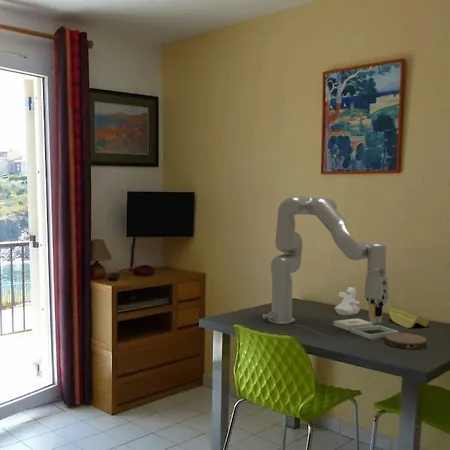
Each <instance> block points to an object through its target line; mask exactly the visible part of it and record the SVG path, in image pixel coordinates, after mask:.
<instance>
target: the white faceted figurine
mask: <svg viewBox="0 0 450 450" xmlns="http://www.w3.org/2000/svg"><path fill="white" fill-rule="evenodd" d="M356 296H357V289H356V287H351V286H348V288H347V289H346V292H344V291H339V293H338V297H339V298H340V297H341V298H343V299H342V301H341V302H339V304H337V305H336V306H335V307H334V310H335V312H336V314H337V315H340V316H351V315H357V314H359V312H360V310H361V309H360V307H359V306H357V305H359V304H361V303H360V301H359V300H356Z"/></svg>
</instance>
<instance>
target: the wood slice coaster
mask: <svg viewBox="0 0 450 450" xmlns="http://www.w3.org/2000/svg"><path fill="white" fill-rule="evenodd" d="M384 344H385V345H387V346H388V347H391V348H394V349H400V350H408V351H417V350H423V349H426V348H427V338H426V337H424V336H422V335H418V334H414V333H408V332H399V333H389V334H386V335H385V339H384Z"/></svg>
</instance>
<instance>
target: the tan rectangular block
mask: <svg viewBox="0 0 450 450" xmlns="http://www.w3.org/2000/svg"><path fill="white" fill-rule="evenodd" d="M375 307H377V306H376V302H375V303H369V305H368V319H369V322H371V323H373V324H377V323H378V324H379V323H382V318H383V317H384V316H383V312H384V311H383V310H384V306H383V307H382V316H375Z"/></svg>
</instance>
